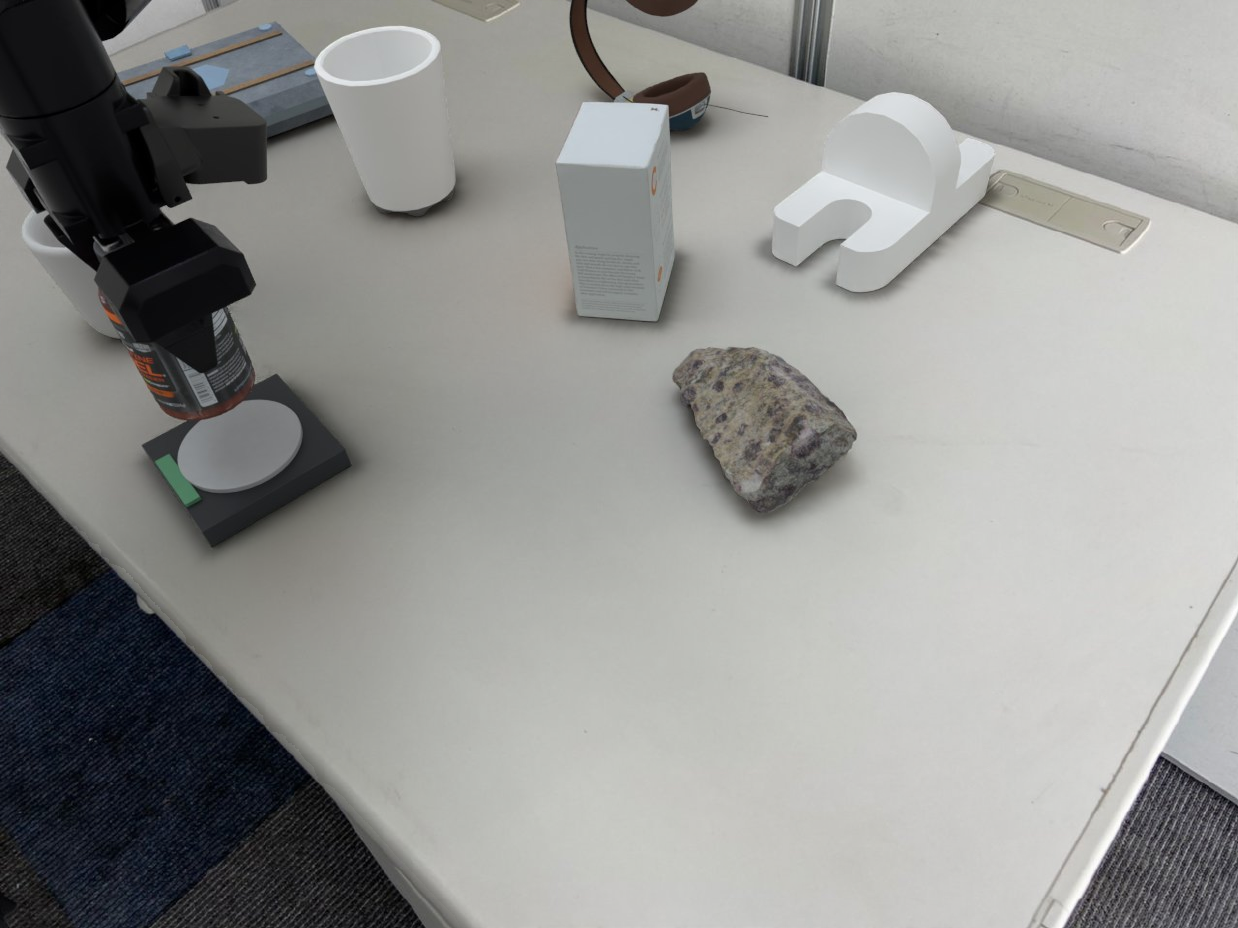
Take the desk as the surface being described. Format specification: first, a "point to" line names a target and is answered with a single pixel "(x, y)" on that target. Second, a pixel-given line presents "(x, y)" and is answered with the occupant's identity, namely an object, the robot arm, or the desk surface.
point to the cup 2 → (392, 114)
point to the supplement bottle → (181, 384)
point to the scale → (246, 459)
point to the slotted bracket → (883, 191)
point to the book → (248, 75)
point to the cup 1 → (67, 272)
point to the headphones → (679, 93)
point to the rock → (763, 422)
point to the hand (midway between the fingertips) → (187, 342)
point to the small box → (618, 208)
